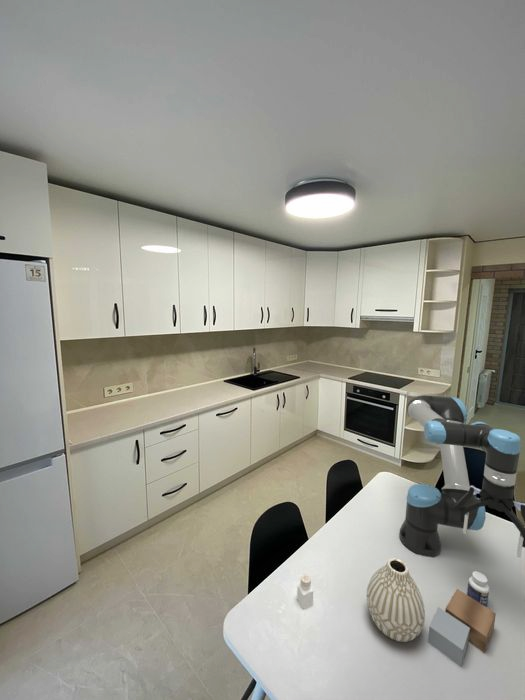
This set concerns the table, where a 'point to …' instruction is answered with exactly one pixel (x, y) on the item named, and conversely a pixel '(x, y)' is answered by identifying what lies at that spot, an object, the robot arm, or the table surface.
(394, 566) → the vase
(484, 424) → the robot arm
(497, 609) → the table surface
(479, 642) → the walnut block
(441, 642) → the slate block
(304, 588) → the pepper shaker
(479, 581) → the pill bottle
